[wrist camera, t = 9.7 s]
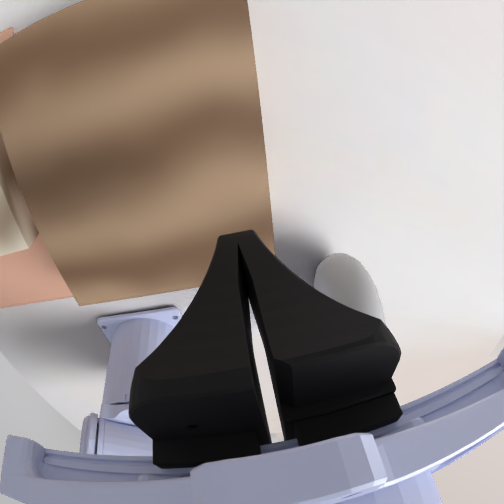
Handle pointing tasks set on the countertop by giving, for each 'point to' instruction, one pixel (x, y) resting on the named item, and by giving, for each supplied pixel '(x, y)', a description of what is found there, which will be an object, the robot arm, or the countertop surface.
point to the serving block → (136, 140)
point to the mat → (29, 267)
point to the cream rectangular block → (13, 210)
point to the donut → (348, 284)
